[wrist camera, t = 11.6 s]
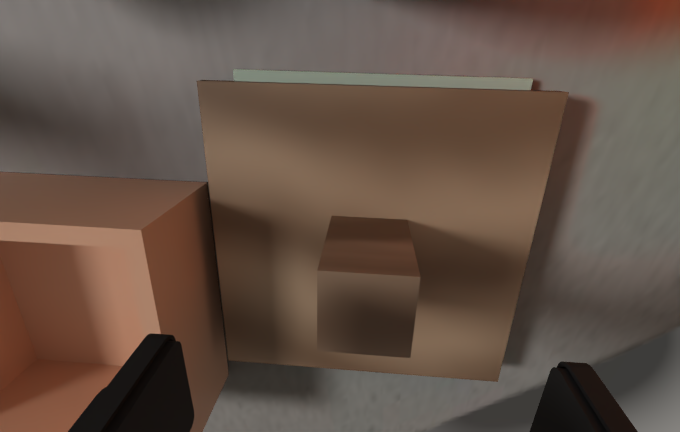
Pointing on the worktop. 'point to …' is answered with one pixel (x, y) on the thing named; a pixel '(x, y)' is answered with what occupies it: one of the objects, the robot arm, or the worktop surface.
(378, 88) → the lid
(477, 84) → the mat
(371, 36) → the worktop surface
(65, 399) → the salmon open box
